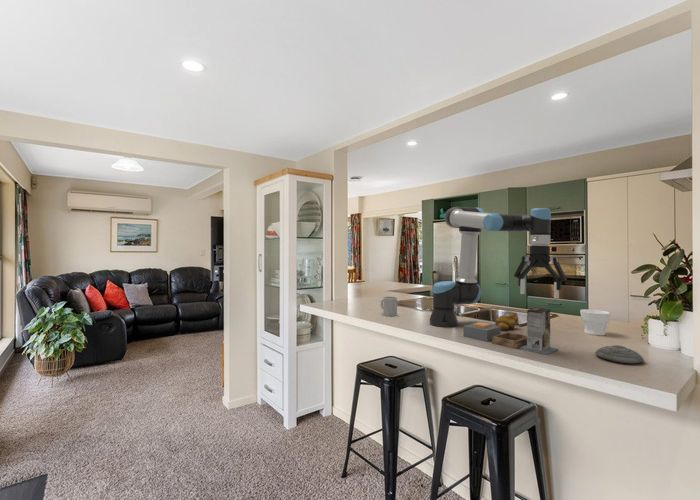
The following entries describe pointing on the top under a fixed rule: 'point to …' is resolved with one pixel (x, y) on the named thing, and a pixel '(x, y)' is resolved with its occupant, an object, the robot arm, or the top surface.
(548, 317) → the coffee box
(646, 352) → the top surface
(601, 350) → the grey flat stone
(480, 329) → the button housing
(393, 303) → the mug
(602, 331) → the cup
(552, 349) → the slate mat
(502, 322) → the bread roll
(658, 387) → the top surface
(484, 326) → the release button
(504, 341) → the wooden tray
